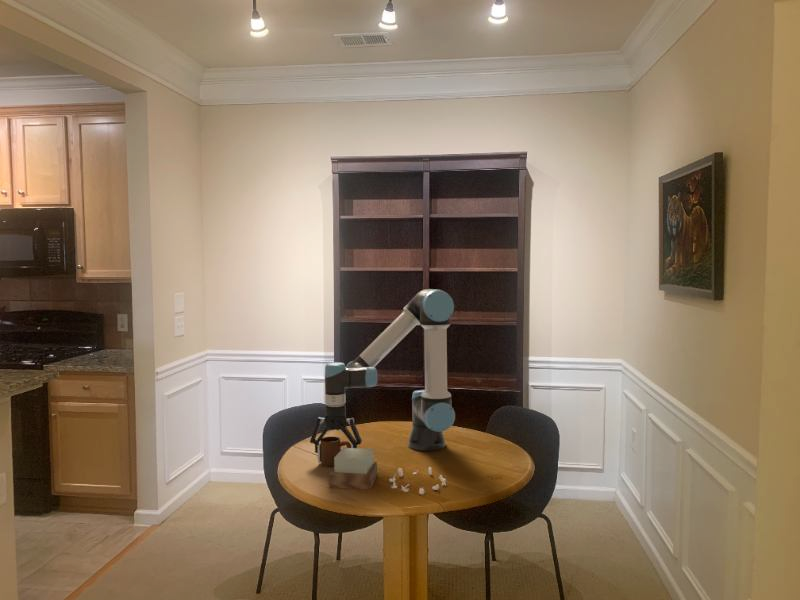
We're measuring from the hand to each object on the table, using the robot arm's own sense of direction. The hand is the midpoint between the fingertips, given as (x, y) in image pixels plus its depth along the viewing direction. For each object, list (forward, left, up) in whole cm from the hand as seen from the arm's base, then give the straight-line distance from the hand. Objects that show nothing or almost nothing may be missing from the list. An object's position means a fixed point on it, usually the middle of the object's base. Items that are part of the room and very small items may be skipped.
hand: (336, 462), depth 217 cm
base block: (-10, +16, -1) cm, 19 cm away
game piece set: (-32, +16, -2) cm, 36 cm away
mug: (0, 0, -1) cm, 1 cm away
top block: (-10, +16, +4) cm, 19 cm away
